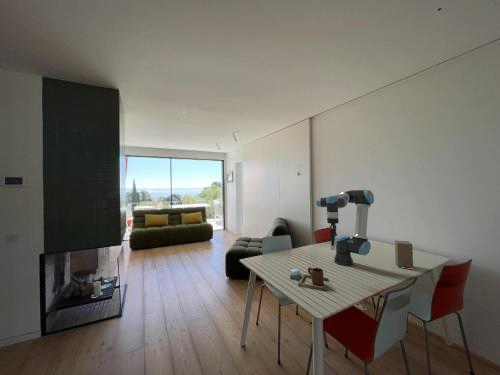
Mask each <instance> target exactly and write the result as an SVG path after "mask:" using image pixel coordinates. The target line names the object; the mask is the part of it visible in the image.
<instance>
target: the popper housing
mask: <svg viewBox="0 0 500 375" xmlns="http://www.w3.org/2000/svg"><path fill="white" fill-rule="evenodd" d="M302 276H303V273H301V272H300V276H293V275H292V272H291V273H290V275H289V279H290V280H291V279H292V280H297V281H300V279H301V277H302Z"/></svg>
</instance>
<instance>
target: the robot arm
mask: <svg viewBox="0 0 500 375" xmlns="http://www.w3.org/2000/svg"><path fill="white" fill-rule="evenodd" d="M315 202H316V206H317V207H319V208H326V213H325V214H326V217H327V218H326V221H327V223H328V224H330V225H329V232H330V236H329V242H330V250H331V251H335V255H334V257H333V262H334V263H335V264H337V265H340V266H352V265H354V260H353V258H352V255H351V253H352V254H355V255H360V256H368V254H369V253H370V251H371V245H372V244H371V242H370V241H369V238H368V237H367V230H368V229H367V228H368V217H369V208H370V207H371V205H373V204H374V203H375V196H374V192H372V190H370V189H356V190H354V189H352V190H347V191H343V192H340V193H339V194H334V195H328V196H326V197H318V198H316V200H315ZM348 203H349V204H354V205H355V206H356V214H355V224H354V235H352V236H350V235H338V234H337V224H339V222H340V221H339V209H342V208H345V207H347V205H348Z"/></svg>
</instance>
